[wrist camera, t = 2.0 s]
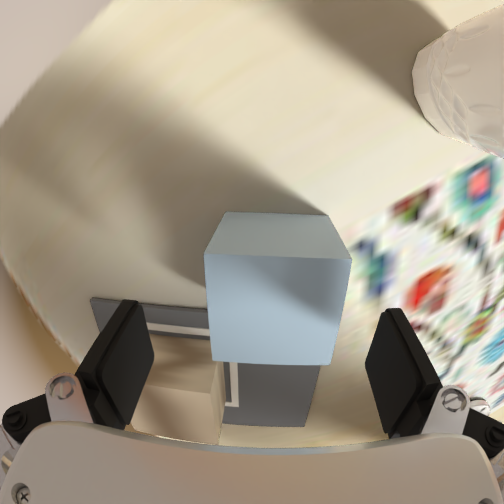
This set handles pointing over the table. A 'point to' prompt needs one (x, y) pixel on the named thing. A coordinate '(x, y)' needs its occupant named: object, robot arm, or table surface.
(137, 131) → the table surface
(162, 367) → the base block
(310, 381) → the mat
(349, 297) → the table surface
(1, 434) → the robot arm
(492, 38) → the white cup
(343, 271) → the blue block
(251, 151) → the table surface
